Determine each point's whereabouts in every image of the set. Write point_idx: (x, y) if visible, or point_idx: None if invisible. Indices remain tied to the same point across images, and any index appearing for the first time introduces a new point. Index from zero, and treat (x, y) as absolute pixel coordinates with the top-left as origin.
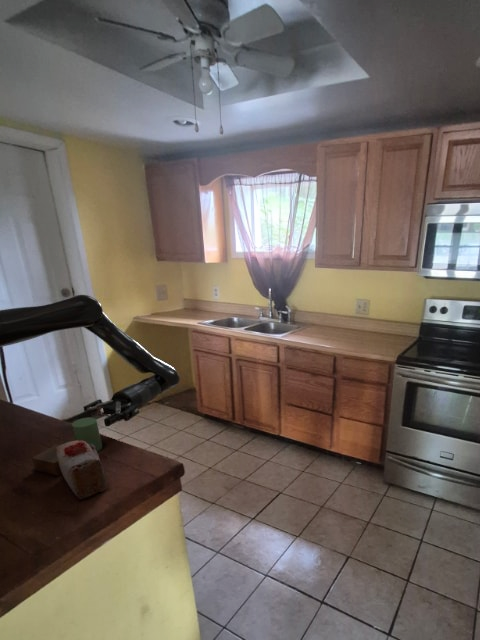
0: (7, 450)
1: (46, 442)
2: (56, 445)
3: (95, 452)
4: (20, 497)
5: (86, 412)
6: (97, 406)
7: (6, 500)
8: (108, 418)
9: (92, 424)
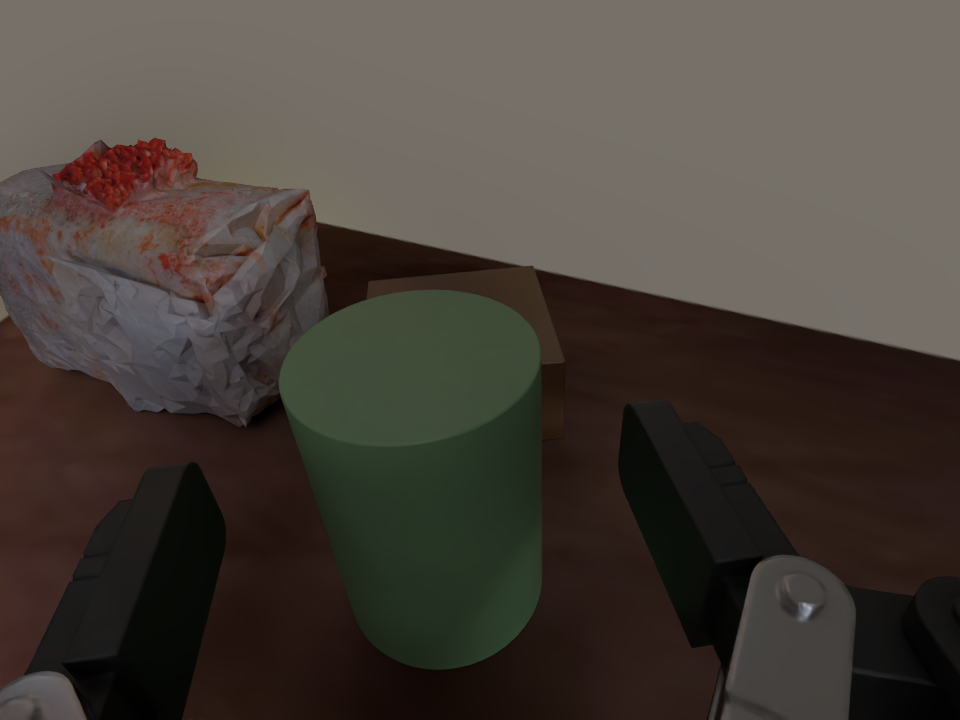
0: (927, 355)
1: (888, 491)
2: (547, 348)
3: (97, 306)
4: (399, 262)
5: (675, 502)
6: (720, 714)
7: (431, 246)
8: (137, 502)
9: (283, 368)
